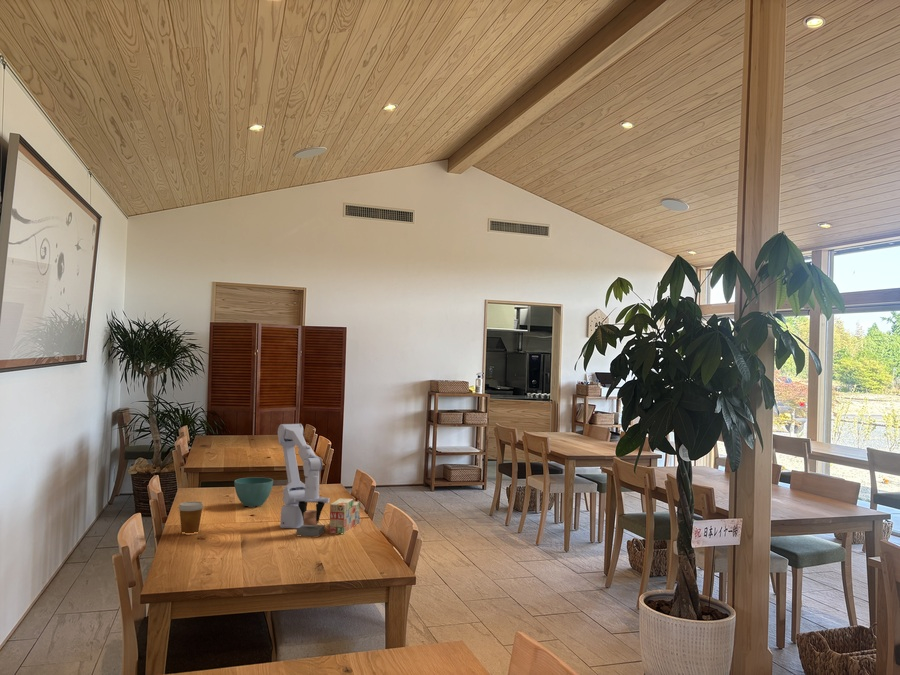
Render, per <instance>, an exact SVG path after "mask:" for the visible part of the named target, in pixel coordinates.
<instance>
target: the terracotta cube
mask: <svg viewBox="0 0 900 675" xmlns="http://www.w3.org/2000/svg"><path fill="white" fill-rule="evenodd" d="M319 521H320V520H319ZM319 521H316V510H315V509H313V510H312V509H311V510H309V509H307V510H306V511H305V512H304V520H303V525H319Z"/></svg>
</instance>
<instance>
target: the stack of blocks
mask: <svg viewBox="0 0 900 675" xmlns="http://www.w3.org/2000/svg"><path fill="white" fill-rule="evenodd" d="M360 504H361V503H360V501H354V498H338V499H337V500H335V501H334V502H332V503H329V508H330V509H329V532H328V533H329V534H330V533H343V534H342V535H345V534H346V533H347V532H346V531H348V530H349V529H350V530H352V529H353V528H354V527H355V526H357V525H358V524H359V523H360ZM357 523H358V524H357ZM356 524H357V525H356ZM354 525H355V526H354ZM353 526H354V527H353ZM352 527H353V528H352ZM350 530H349V531H350ZM349 531H348V532H349ZM345 532H346V533H345ZM344 533H345V534H344Z"/></svg>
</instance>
